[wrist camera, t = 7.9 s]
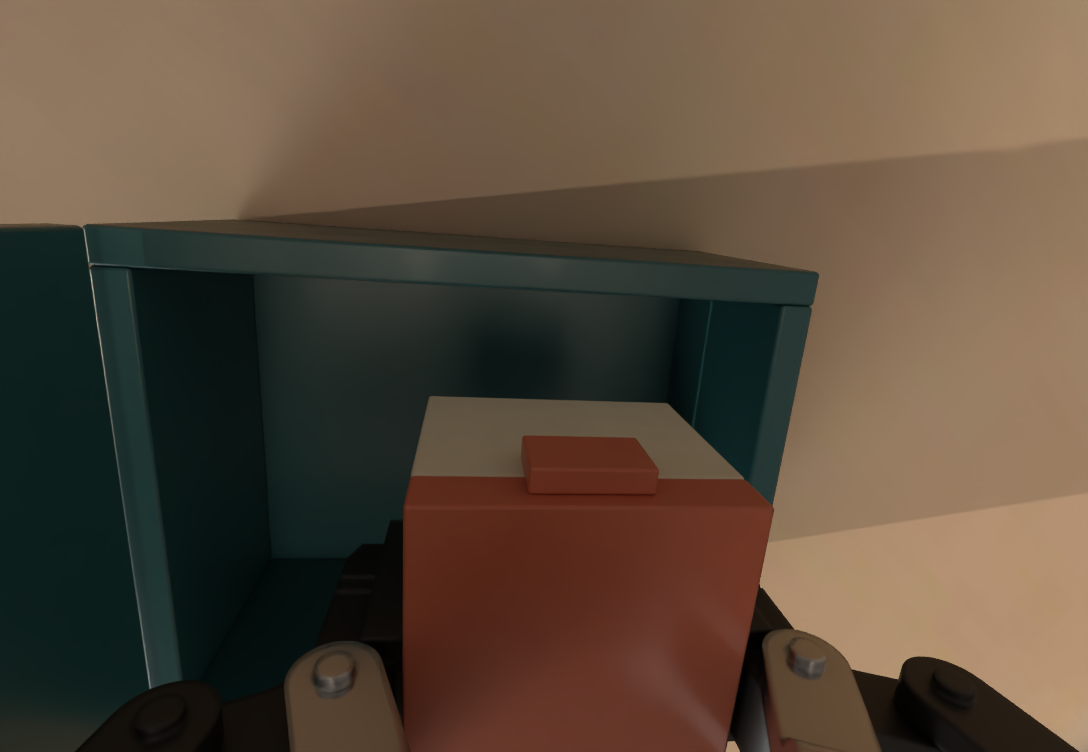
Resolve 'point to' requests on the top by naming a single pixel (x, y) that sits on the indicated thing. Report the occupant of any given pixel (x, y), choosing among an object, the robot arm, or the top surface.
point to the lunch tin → (380, 395)
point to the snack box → (574, 579)
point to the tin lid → (59, 505)
